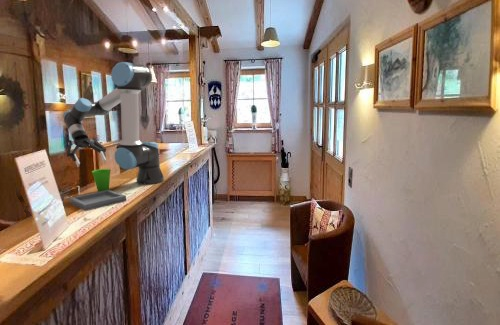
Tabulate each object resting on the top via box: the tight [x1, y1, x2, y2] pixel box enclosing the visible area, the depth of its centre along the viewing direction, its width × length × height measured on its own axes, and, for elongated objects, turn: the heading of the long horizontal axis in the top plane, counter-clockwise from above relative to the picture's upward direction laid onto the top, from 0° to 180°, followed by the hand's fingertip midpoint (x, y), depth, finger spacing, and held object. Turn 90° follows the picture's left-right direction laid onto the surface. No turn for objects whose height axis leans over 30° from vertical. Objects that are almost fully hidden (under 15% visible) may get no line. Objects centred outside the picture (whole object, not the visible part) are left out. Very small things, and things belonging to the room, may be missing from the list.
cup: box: [91, 168, 111, 192], centre depth 166 cm, size 9×9×11 cm
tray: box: [69, 189, 127, 212], centre depth 147 cm, size 18×18×2 cm
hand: (92, 163), depth 171 cm, fingers open, 13 cm apart
